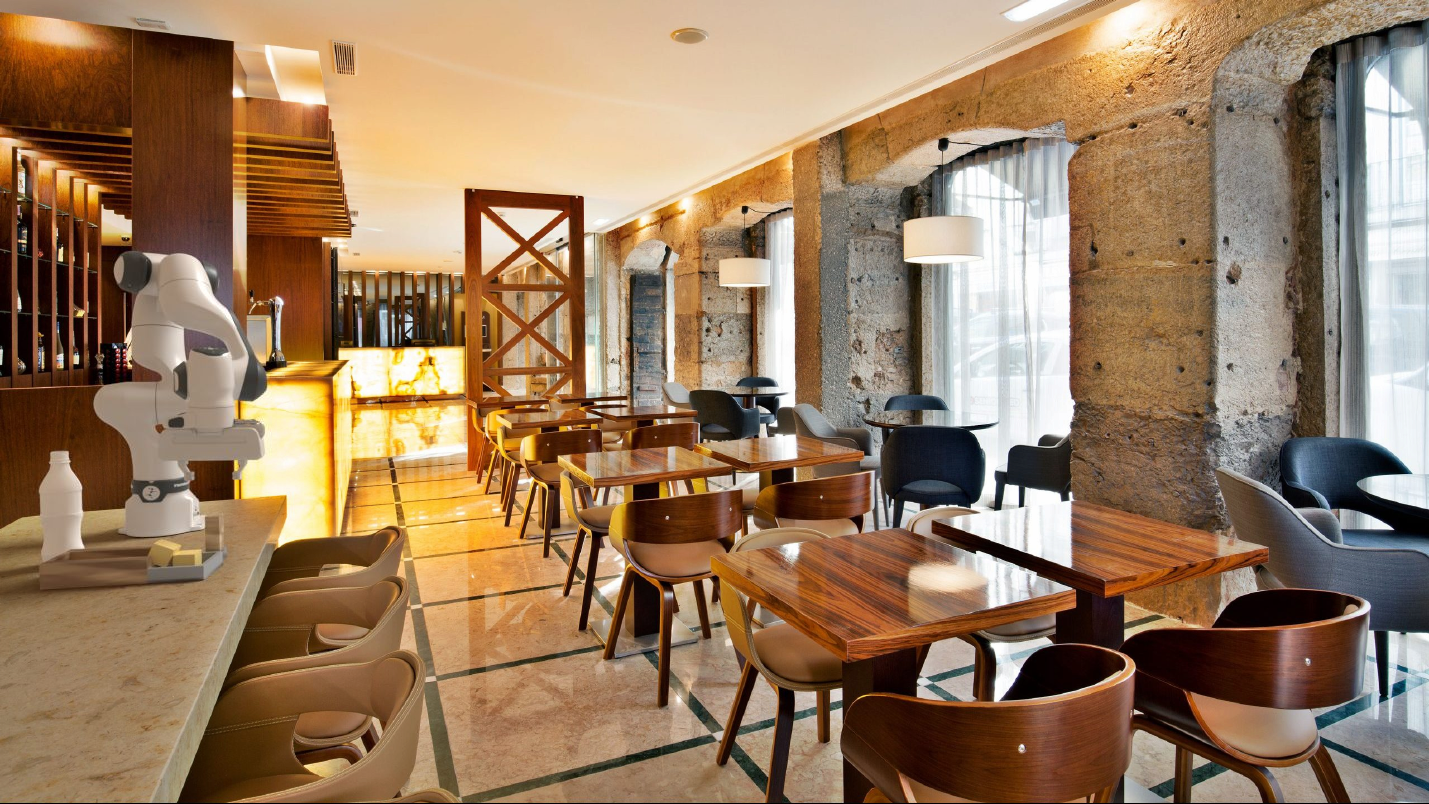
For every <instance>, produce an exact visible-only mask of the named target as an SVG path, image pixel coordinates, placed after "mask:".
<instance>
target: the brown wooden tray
mask: <svg viewBox="0 0 1429 804" xmlns="http://www.w3.org/2000/svg"><path fill="white" fill-rule="evenodd" d="M152 546H153V545H139V546H138V545H136V546H135V545H133V546H113V547H92V548H89V547H88V548H84V549H71V550H68V551H66V552H64V553H62V554H60V555H58V556H56V557H54V558H52V559H50V560H48V561H46V562H44V563H43V562H42V563H40V564H39V565H38V573H39V590H40V591H43V590H55V589H57V590H58V589H59V590H61V589H76V588H90V587H108V586H109V587H110V586H125V585H127V586H128V585H142V584H143V585H144V584H148V583H147V569H148V568H156V567H162V566H159V565H156V564H152V556H148V554H149V552H150V550H151V548H152ZM167 567H168V566H167Z"/></svg>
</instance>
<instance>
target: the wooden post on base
mask: <svg viewBox="0 0 1429 804" xmlns="http://www.w3.org/2000/svg"><path fill="white" fill-rule="evenodd" d="M224 526H225V525H224V513H209V514H207V516H205V527H204V535H205V536H204V537H205V538H204V539H205V540H204V541H205V542H204V543H205V544H204V546H205V547H204V548H205V552H214V551H222V553H223V561H224V560H225V559H226V558H228V551H227V550H228V549H227V548H228V546H225V539H224V538H225V537H224V536H225V535H224V531H225V530H224V529H225V528H224Z"/></svg>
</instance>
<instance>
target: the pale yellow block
mask: <svg viewBox="0 0 1429 804" xmlns="http://www.w3.org/2000/svg"><path fill="white" fill-rule="evenodd" d="M151 546H152V548H151V550H150V552H149V554H148V556H152V564H156V565H159V566H162V567H167V566H169V565H170V564H172V563H173V555H174V554H175V553H177V552H178V551H180V549H181V548H182V545H181V544H179V543H175V542H172V541H169V540H166V539H163V538H161V539H158V540H157V541H156V542H153V543H152V545H151Z"/></svg>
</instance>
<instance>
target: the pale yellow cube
mask: <svg viewBox="0 0 1429 804" xmlns="http://www.w3.org/2000/svg"><path fill="white" fill-rule="evenodd" d="M202 552H203V551H202V549H185V550H184V549H183V550H179V551H178V552H177V553H175V554H174V555H173V567H174V566H193V565H201V564H202Z"/></svg>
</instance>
